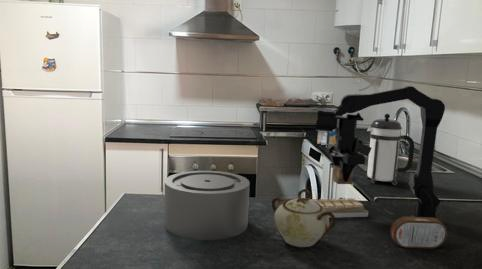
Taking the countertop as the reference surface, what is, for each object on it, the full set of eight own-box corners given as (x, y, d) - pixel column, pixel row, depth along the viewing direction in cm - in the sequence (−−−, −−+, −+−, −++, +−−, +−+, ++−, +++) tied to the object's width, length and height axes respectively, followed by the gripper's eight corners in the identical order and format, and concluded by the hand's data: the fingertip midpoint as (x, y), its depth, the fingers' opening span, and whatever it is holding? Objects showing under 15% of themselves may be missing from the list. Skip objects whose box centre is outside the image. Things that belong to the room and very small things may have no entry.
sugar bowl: (344, 243, 117) (349, 190, 114) (319, 261, 105) (324, 203, 103) (284, 224, 128) (286, 177, 126) (255, 239, 117) (258, 186, 114)
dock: (367, 216, 139) (368, 211, 139) (313, 218, 135) (314, 212, 135) (355, 207, 148) (355, 202, 147) (304, 208, 144) (304, 203, 144)
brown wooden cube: (352, 184, 139) (353, 168, 138) (338, 184, 138) (339, 168, 137) (345, 179, 144) (347, 165, 143) (331, 179, 143) (333, 164, 142)
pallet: (364, 211, 140) (364, 204, 139) (315, 212, 136) (316, 206, 136) (354, 204, 146) (354, 198, 146) (308, 205, 143) (308, 199, 143)
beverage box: (316, 145, 267) (319, 111, 263) (326, 144, 274) (328, 110, 271) (326, 147, 262) (328, 112, 258) (335, 145, 270) (338, 111, 266)
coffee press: (387, 188, 174) (394, 116, 169) (356, 179, 187) (362, 112, 182) (411, 183, 184) (418, 115, 179) (380, 175, 197) (386, 111, 192)
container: (156, 213, 134) (157, 172, 132) (230, 207, 143) (232, 168, 141) (174, 245, 111) (175, 196, 109) (261, 235, 120) (263, 190, 118)
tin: (441, 245, 118) (444, 216, 117) (447, 250, 115) (450, 220, 114) (388, 244, 118) (391, 215, 116) (392, 248, 114) (396, 219, 113)
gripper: (383, 138, 131) (378, 187, 133) (356, 129, 149) (352, 172, 151) (350, 137, 129) (345, 187, 131) (327, 128, 147) (323, 171, 149)
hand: (342, 179), depth 141 cm, fingers closed on brown wooden cube, 5 cm apart
